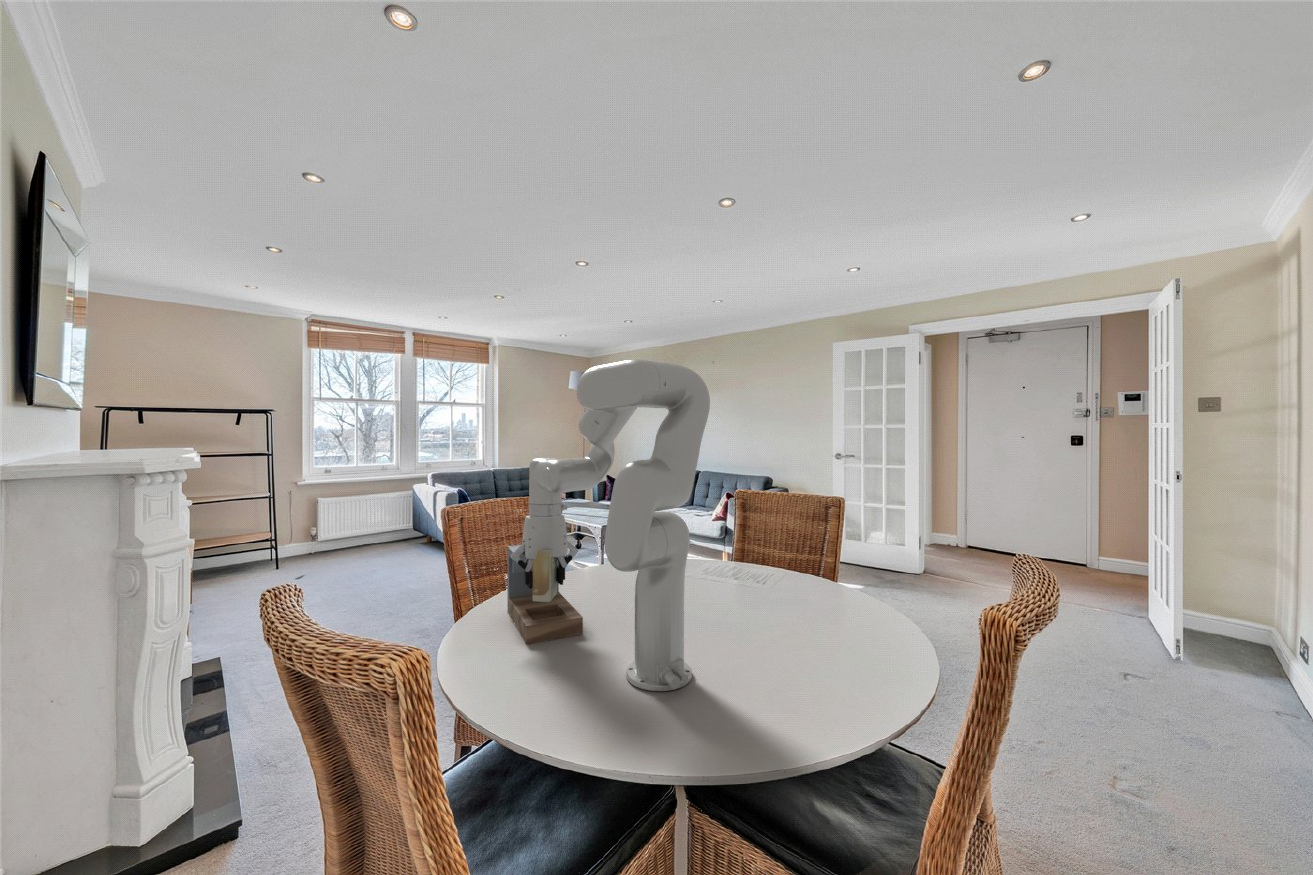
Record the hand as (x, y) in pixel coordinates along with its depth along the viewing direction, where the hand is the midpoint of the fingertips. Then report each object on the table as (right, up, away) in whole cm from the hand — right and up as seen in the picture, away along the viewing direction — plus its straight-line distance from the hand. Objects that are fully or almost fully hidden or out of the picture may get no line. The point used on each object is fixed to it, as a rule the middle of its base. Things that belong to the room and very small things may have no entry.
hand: (545, 584), depth 125 cm
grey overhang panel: (-5, -10, +11) cm, 16 cm away
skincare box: (0, -3, 0) cm, 3 cm away
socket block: (-1, -11, +4) cm, 11 cm away
